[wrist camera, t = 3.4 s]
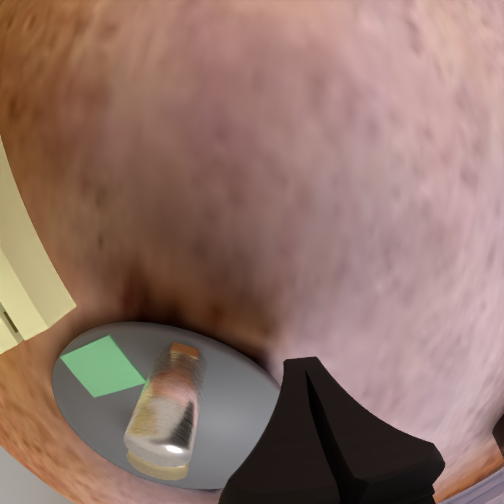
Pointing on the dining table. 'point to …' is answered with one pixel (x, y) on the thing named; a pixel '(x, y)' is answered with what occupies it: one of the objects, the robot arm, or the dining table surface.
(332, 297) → the dining table surface
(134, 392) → the dial plate
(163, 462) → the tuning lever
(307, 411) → the robot arm
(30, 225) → the slatted curved stool
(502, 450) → the coffee mug
